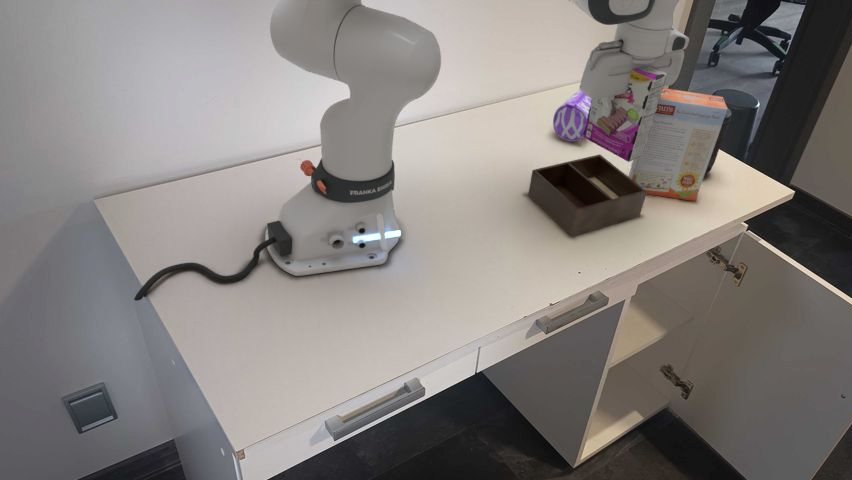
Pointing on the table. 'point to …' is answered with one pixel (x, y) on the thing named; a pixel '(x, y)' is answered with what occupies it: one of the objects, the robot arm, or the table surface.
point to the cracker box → (679, 144)
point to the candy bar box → (627, 115)
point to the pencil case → (572, 117)
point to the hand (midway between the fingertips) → (622, 112)
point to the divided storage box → (586, 194)
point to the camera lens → (719, 141)
